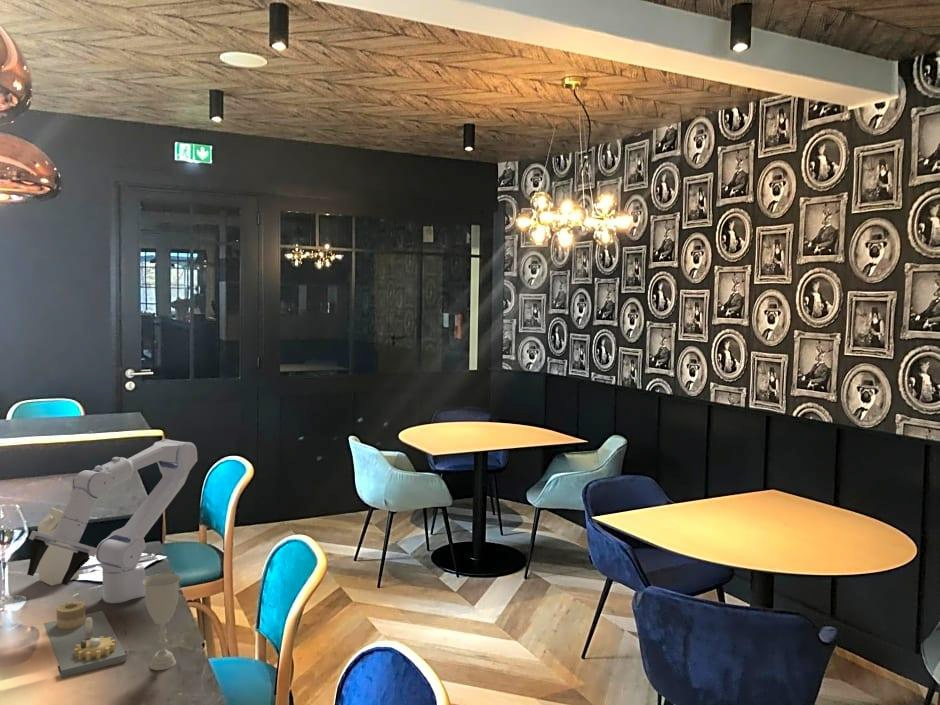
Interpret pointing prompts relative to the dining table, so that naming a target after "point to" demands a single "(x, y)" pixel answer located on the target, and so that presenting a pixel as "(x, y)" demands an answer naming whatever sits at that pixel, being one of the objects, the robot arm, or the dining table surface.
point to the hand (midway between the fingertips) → (47, 579)
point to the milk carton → (54, 553)
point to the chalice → (162, 612)
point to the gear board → (85, 645)
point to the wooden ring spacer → (71, 615)
